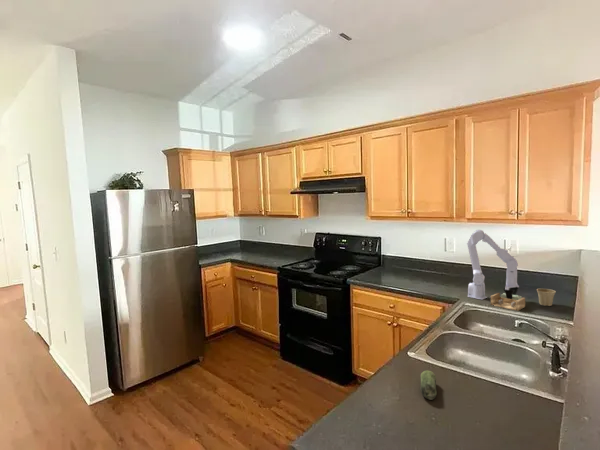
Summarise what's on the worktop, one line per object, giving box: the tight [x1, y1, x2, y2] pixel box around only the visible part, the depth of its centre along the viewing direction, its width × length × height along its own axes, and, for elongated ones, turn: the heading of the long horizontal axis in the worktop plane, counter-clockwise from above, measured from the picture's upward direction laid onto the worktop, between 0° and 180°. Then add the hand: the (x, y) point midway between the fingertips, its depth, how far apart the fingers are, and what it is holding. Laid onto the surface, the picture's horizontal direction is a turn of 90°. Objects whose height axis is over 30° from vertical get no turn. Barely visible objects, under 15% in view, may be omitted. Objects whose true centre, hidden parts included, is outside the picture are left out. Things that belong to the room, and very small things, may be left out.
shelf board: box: [500, 292, 523, 300], centre depth 212 cm, size 10×5×4 cm, turn 39°
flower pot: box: [536, 288, 557, 307], centre depth 205 cm, size 9×9×9 cm
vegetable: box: [420, 369, 438, 401], centre depth 116 cm, size 14×5×5 cm, turn 160°
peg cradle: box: [490, 292, 526, 312], centre depth 204 cm, size 15×11×6 cm
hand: (511, 299), depth 212 cm, fingers closed on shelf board, 5 cm apart
